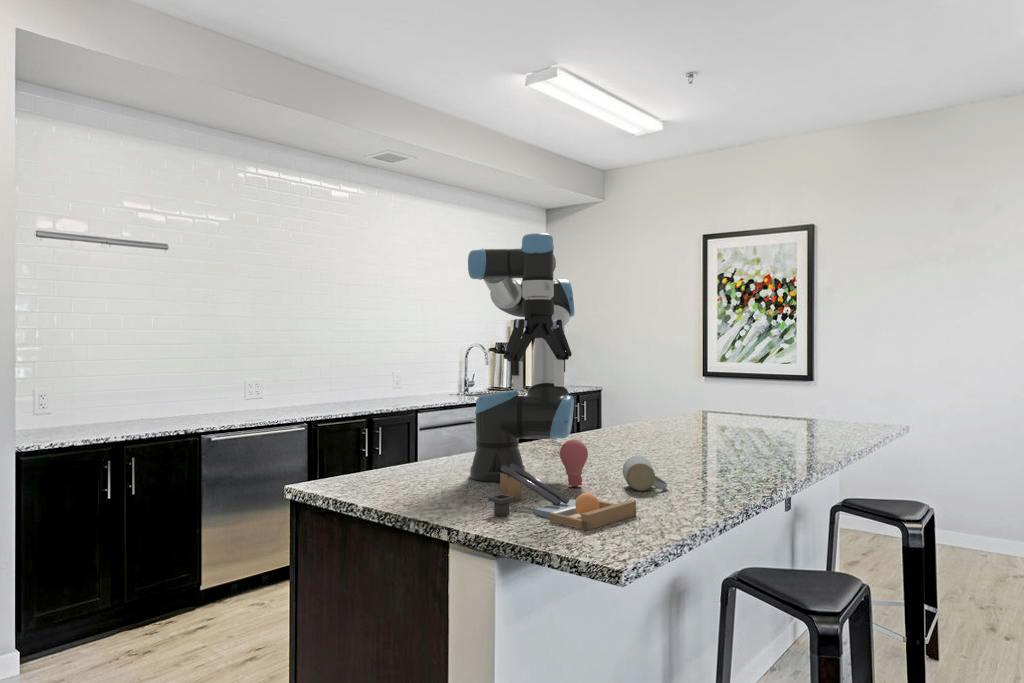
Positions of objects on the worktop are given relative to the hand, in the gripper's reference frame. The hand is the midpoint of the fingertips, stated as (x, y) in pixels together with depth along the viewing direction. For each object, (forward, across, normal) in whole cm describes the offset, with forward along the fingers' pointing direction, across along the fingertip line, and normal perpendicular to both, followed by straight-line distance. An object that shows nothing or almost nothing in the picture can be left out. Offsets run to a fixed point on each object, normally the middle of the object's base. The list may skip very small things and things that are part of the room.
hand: (539, 388), depth 161 cm
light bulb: (+26, +13, +1) cm, 29 cm away
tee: (+25, -19, -8) cm, 32 cm away
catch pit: (+25, -7, -23) cm, 35 cm away
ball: (+23, -7, -22) cm, 32 cm away
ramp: (+26, -8, -6) cm, 27 cm away
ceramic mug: (+26, +24, -12) cm, 38 cm away
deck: (+26, -7, -15) cm, 30 cm away
